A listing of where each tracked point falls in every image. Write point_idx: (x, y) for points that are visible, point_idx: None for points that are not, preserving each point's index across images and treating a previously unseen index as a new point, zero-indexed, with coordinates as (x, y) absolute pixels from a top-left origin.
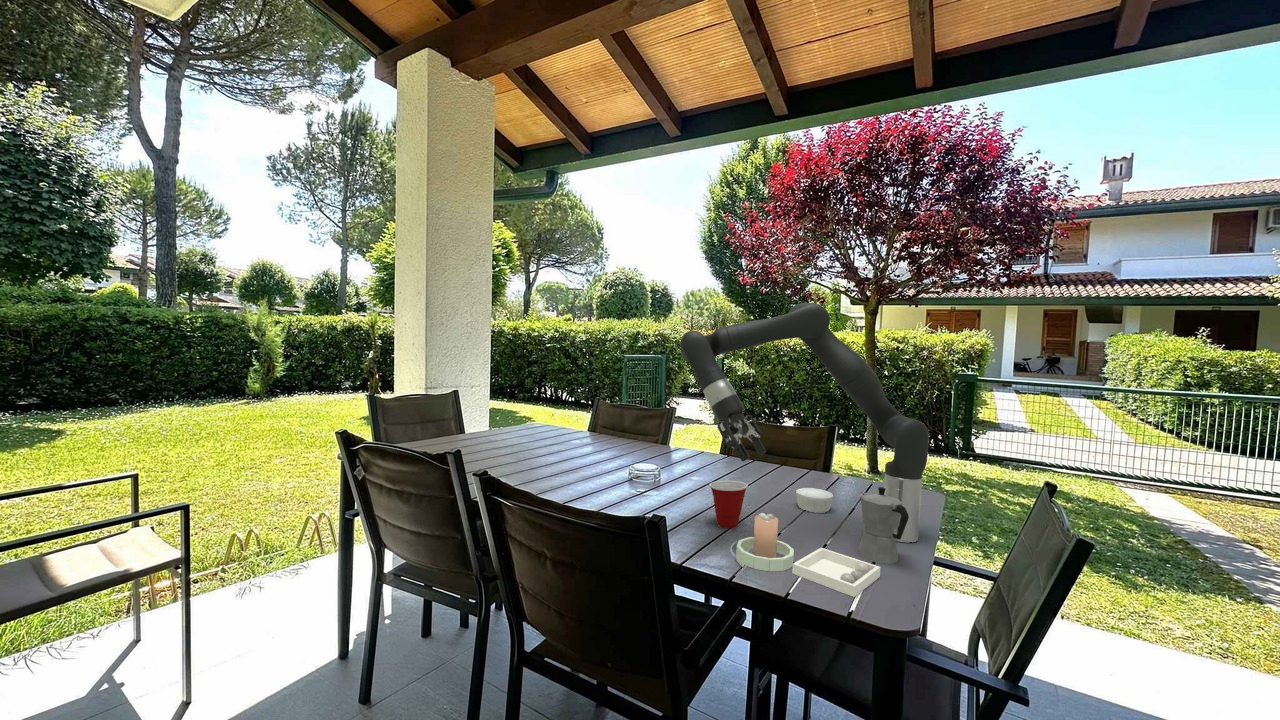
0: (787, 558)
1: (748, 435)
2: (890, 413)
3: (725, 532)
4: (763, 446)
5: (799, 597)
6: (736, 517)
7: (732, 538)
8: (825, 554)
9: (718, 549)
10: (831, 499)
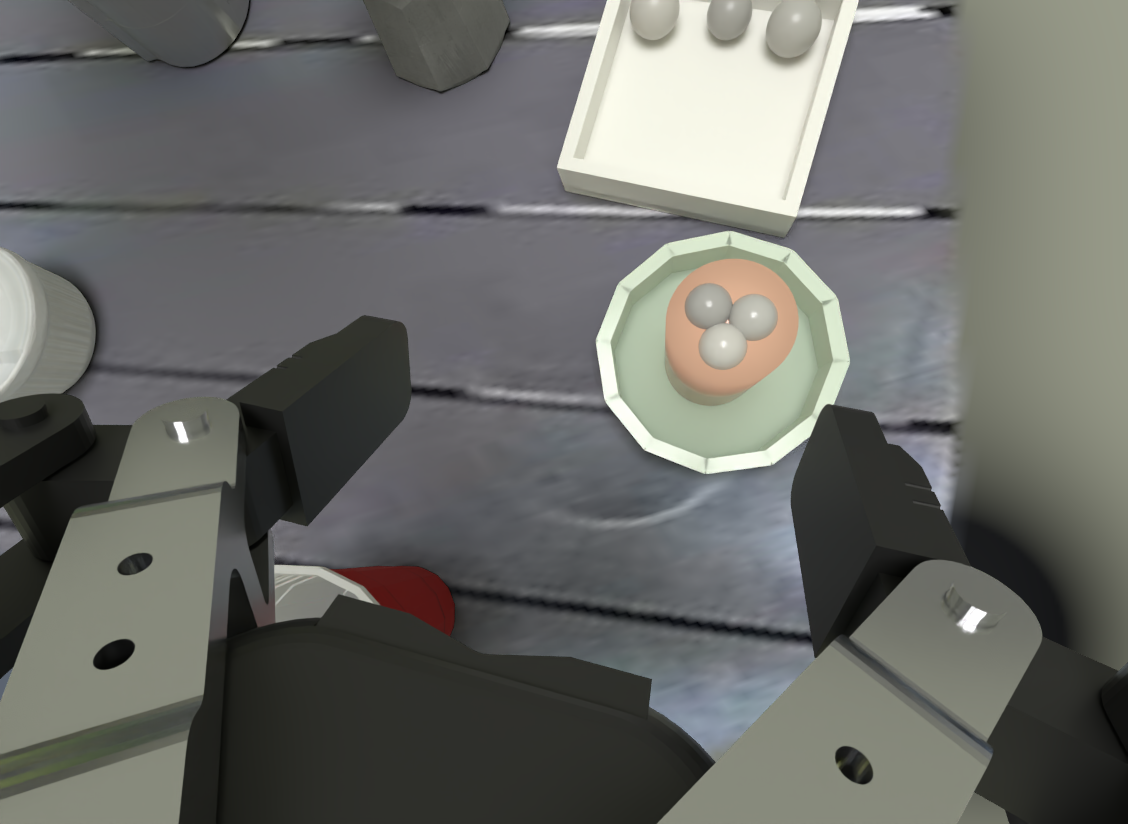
0: (768, 243)
1: (264, 604)
2: None
3: (500, 591)
4: (338, 339)
5: (940, 172)
6: (412, 573)
7: (549, 544)
8: (578, 155)
9: (698, 561)
10: (4, 248)
